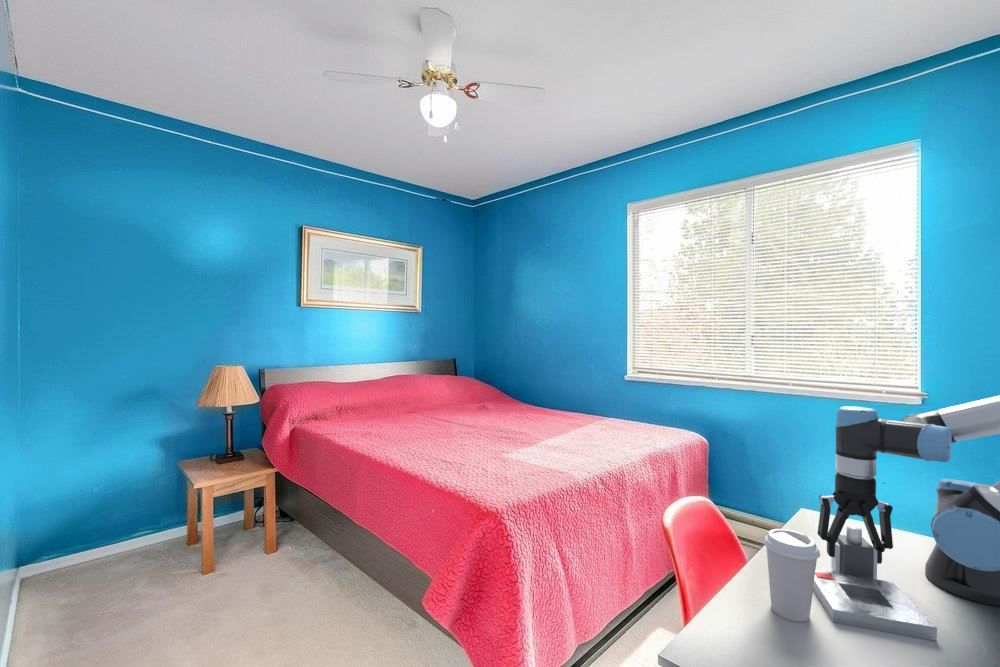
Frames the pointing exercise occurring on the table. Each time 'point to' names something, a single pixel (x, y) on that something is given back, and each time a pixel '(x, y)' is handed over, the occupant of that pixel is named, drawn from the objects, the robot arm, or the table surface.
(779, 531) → the coffee cup
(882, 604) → the socket plate
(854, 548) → the plug
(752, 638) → the table surface
